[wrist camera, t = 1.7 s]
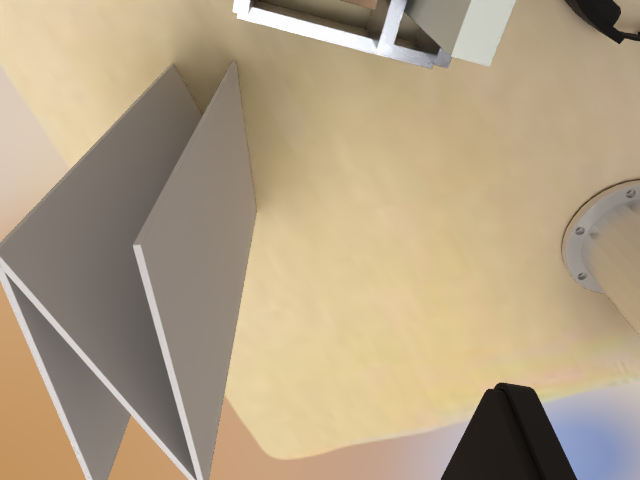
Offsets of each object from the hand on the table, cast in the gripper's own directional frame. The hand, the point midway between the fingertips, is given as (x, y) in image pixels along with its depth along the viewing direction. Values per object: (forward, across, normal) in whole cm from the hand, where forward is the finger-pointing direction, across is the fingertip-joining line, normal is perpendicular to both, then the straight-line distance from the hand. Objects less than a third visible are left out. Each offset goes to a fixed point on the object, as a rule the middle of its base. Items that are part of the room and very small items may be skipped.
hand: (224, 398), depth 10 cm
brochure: (+40, +5, +11) cm, 42 cm away
